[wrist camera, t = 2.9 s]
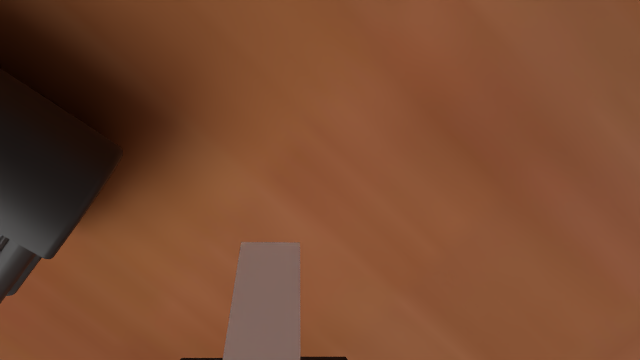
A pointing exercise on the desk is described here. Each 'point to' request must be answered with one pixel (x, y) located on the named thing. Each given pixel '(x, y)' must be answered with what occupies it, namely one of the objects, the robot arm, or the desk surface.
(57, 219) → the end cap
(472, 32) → the desk surface
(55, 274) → the desk surface
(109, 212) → the desk surface
